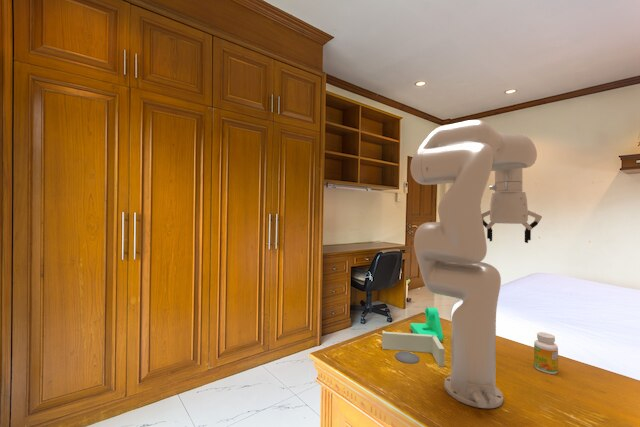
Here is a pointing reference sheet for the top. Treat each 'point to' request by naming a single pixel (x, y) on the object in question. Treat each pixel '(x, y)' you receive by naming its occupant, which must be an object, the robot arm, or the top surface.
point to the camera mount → (429, 324)
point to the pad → (407, 357)
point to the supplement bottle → (546, 353)
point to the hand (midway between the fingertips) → (508, 241)
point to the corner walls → (414, 344)
